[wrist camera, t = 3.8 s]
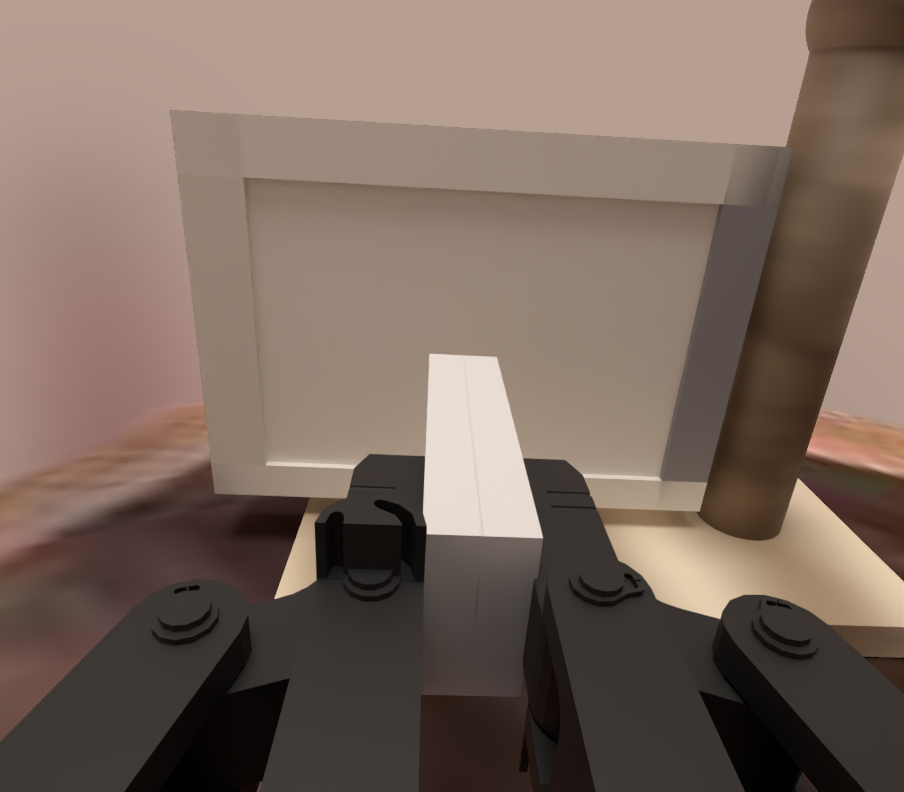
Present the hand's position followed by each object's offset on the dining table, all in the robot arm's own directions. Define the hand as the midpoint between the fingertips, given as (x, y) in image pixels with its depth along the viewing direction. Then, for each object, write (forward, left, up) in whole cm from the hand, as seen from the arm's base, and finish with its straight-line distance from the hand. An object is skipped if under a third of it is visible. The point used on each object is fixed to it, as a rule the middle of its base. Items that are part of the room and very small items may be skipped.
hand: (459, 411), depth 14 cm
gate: (-1, -7, -6) cm, 9 cm away
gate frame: (-5, -11, -8) cm, 14 cm away
